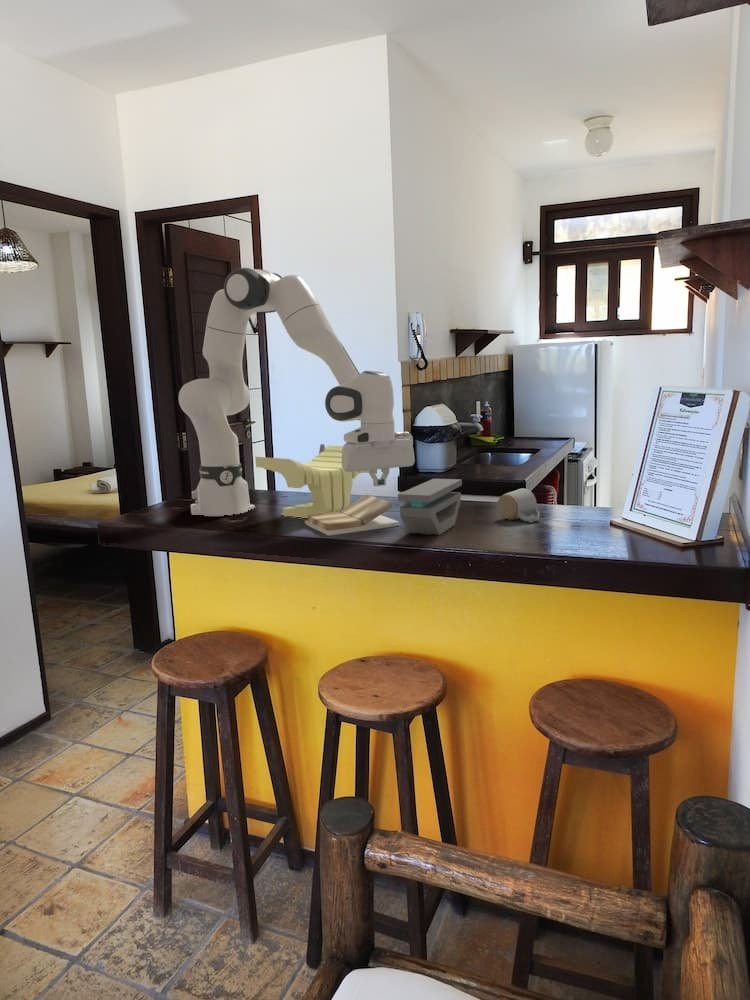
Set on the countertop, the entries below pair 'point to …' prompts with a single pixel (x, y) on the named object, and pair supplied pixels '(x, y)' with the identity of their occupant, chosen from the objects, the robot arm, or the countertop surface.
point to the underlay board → (374, 524)
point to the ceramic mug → (518, 505)
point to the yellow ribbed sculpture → (315, 481)
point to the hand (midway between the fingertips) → (379, 485)
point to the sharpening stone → (431, 506)
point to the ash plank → (367, 508)
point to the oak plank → (334, 521)
